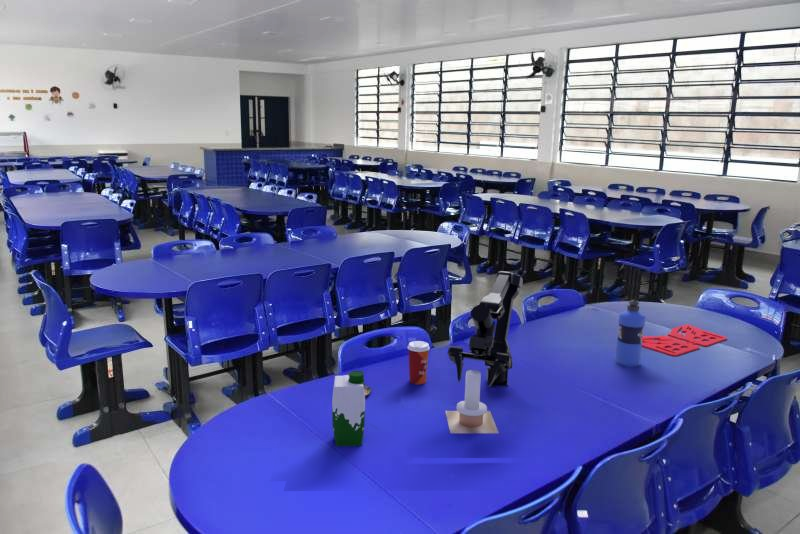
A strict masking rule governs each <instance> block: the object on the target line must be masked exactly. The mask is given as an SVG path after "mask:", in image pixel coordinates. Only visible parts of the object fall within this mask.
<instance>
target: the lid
mask: <svg viewBox="0 0 800 534" xmlns="http://www.w3.org/2000/svg"><path fill="white" fill-rule="evenodd" d="M481 376H482V372H480V371H479V370H475V369H469V370H467V371H466V372H465V383H464V389H465V390H464V400H461V401H459V402H457V404H456V411H458V412H459V413H461V414H463V415H467V416H481V415H483V414H485V413H486V412H487V411H488V406H487V405H486V404H485V403H484V402H482V401H480V400H481V399H480V398H481V397H480V396H481V380H482V377H481Z"/></svg>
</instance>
